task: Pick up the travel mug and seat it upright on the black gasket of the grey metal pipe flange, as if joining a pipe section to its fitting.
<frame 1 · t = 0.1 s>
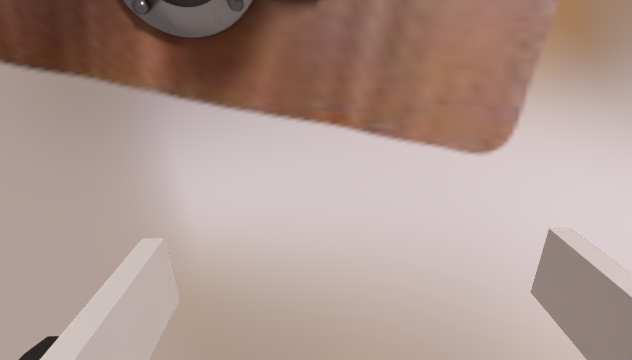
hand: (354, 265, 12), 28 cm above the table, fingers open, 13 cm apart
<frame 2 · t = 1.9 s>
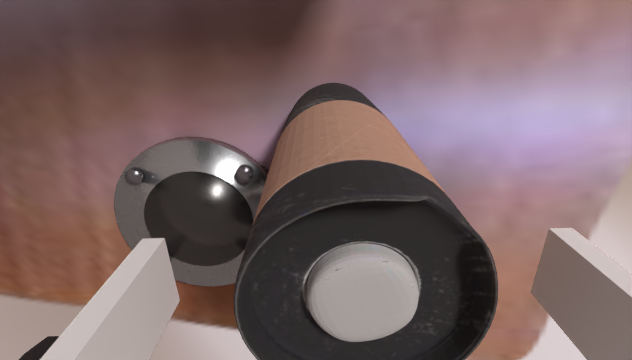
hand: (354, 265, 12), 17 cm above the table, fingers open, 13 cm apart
fitting: (203, 215, 31), on the table
travel mug: (332, 126, 28), on the table
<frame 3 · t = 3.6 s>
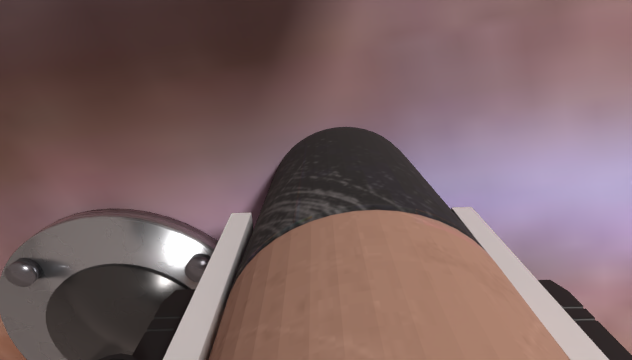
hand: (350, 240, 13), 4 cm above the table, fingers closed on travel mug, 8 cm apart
fitting: (144, 317, 20), on the table
travel mug: (342, 192, 17), on the table, touching gripper
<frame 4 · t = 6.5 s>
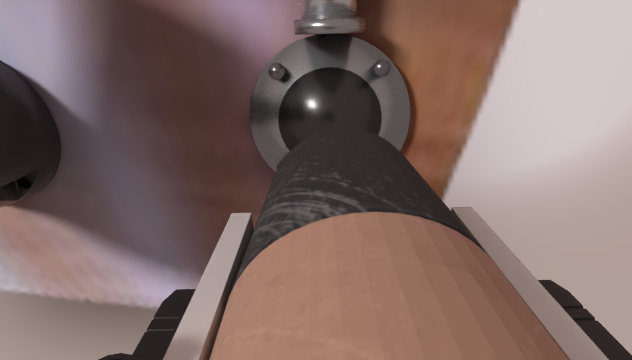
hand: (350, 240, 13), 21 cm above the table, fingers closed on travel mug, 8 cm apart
fitting: (329, 118, 32), on the table
travel mug: (342, 193, 17), point 16 cm above the table, touching gripper
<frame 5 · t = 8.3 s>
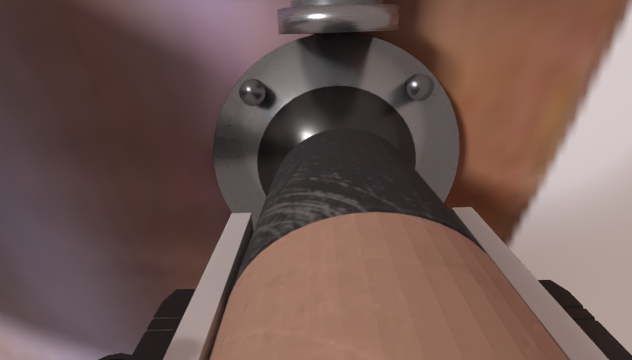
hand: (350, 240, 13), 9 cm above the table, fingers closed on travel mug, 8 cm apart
fitting: (335, 160, 22), on the table
travel mug: (342, 193, 17), point 5 cm above the table, touching gripper
when the fingers open (7 cm above the table, at t = 9.3 s): travel mug drops 1 cm, resting on fitting.
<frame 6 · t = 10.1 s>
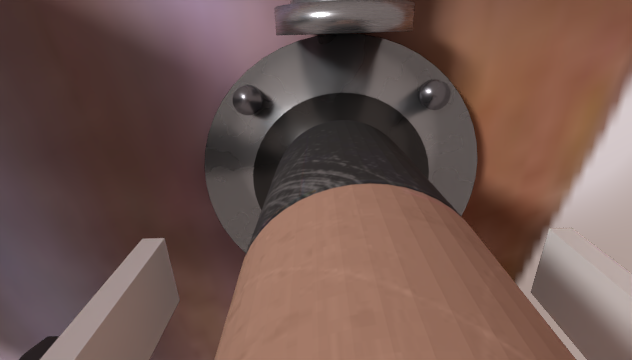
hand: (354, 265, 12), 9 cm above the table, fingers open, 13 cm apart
fitting: (339, 173, 20), on the table
travel mug: (340, 181, 19), point 1 cm above the table, touching fitting
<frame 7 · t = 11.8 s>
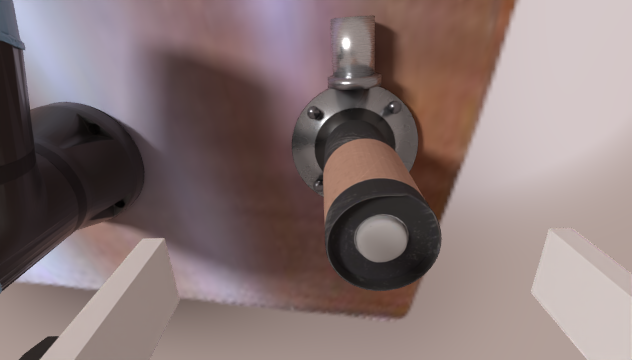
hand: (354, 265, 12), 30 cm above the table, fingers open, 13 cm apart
fitting: (353, 145, 41), on the table
travel mug: (354, 148, 40), point 1 cm above the table, touching fitting
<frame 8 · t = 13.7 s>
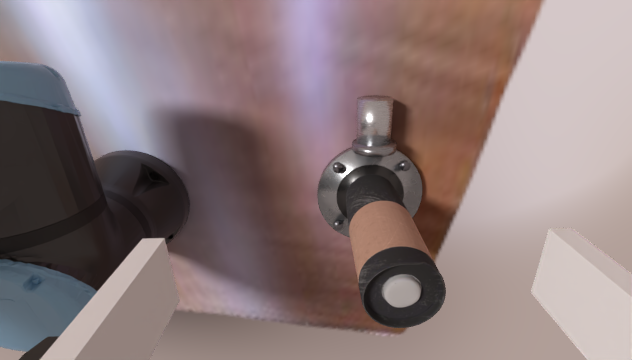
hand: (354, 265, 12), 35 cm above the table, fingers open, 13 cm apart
fitting: (368, 192, 49), on the table
travel mug: (370, 196, 48), point 1 cm above the table, touching fitting
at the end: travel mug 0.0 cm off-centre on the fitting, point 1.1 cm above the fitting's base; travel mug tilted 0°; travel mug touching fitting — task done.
